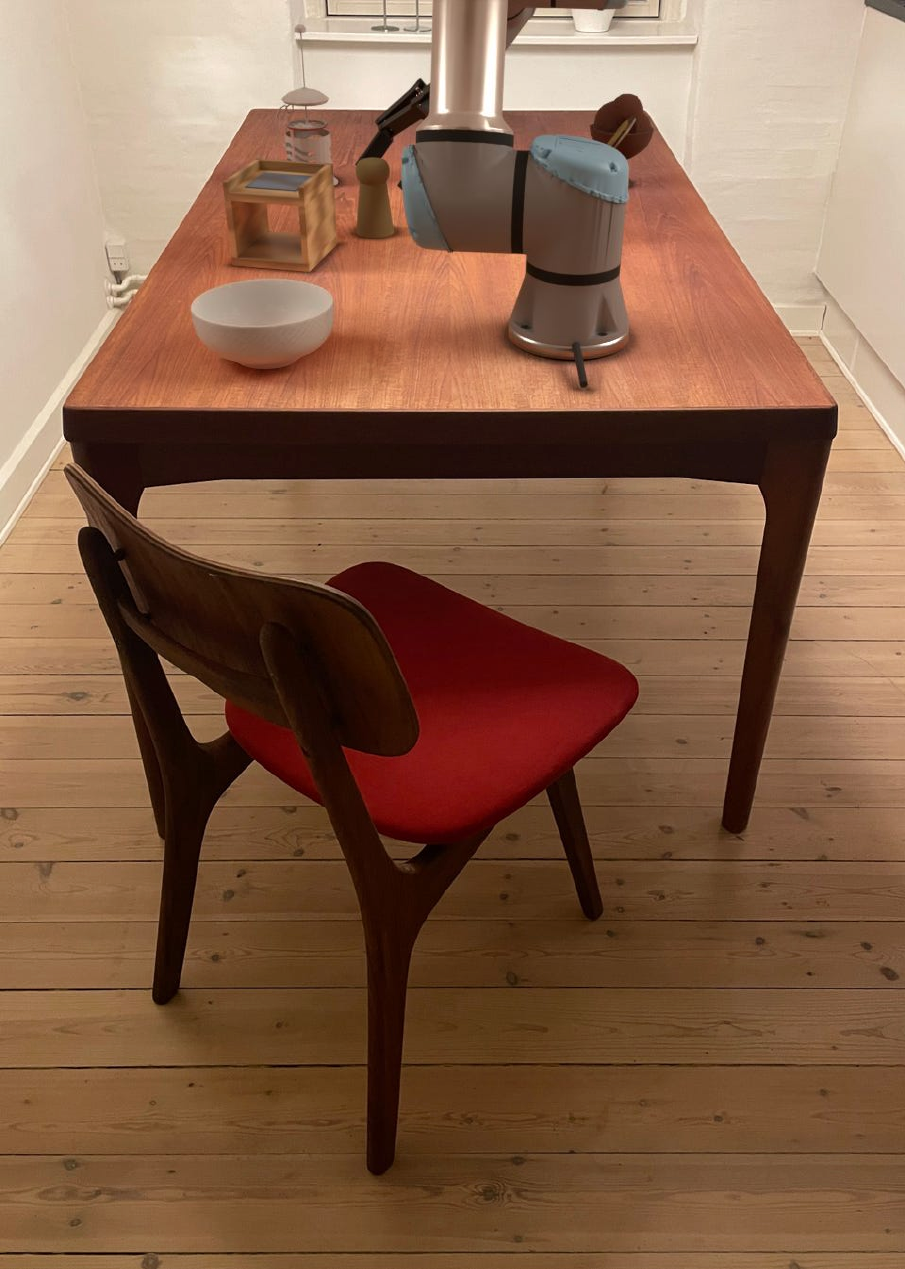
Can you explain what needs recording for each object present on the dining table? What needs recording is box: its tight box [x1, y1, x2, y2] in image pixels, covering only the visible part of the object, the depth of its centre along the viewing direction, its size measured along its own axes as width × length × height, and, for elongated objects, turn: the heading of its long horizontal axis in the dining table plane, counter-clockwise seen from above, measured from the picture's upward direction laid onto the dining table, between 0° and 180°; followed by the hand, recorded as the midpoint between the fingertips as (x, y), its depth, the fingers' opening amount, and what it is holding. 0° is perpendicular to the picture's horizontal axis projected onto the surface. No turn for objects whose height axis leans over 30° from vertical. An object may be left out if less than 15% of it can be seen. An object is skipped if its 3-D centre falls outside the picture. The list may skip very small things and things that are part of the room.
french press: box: [275, 23, 339, 186], centre depth 192 cm, size 10×12×25 cm
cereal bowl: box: [190, 278, 335, 370], centre depth 135 cm, size 17×17×7 cm
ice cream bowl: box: [589, 93, 655, 188], centre depth 194 cm, size 11×11×15 cm
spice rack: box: [222, 157, 338, 273], centre depth 164 cm, size 13×12×12 cm
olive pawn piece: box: [355, 157, 395, 239], centre depth 173 cm, size 6×6×11 cm
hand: (381, 181), depth 172 cm, fingers open, 13 cm apart
